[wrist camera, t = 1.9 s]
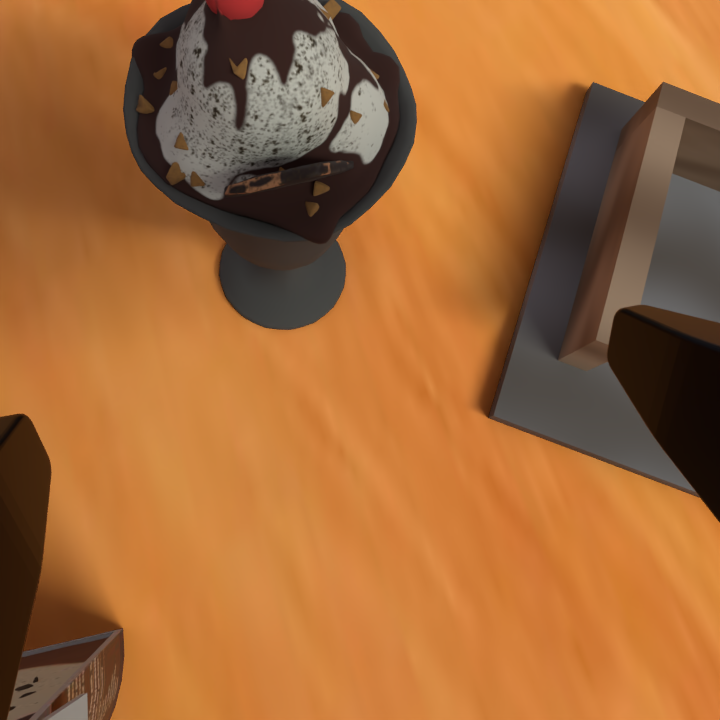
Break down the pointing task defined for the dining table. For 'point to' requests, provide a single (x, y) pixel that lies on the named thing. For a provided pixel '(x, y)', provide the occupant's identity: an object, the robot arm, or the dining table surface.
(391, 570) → the dining table surface
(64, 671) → the food container
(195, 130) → the sundae
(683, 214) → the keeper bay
